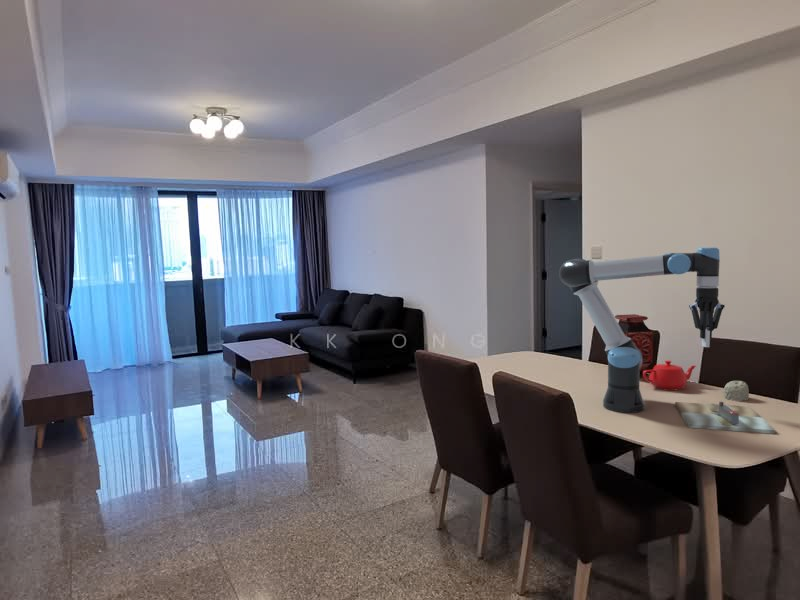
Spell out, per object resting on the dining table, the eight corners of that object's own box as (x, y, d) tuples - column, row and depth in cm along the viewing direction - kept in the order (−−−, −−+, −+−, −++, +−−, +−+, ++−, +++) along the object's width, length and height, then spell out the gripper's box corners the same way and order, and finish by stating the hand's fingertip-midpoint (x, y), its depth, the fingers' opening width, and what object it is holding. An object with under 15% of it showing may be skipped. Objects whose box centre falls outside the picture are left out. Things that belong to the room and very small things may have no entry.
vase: (611, 372, 268) (612, 314, 265) (637, 371, 269) (637, 313, 267) (626, 379, 254) (627, 318, 251) (653, 377, 256) (654, 316, 253)
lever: (726, 414, 193) (726, 403, 192) (739, 424, 182) (740, 413, 181) (718, 414, 193) (718, 403, 193) (730, 424, 182) (731, 412, 182)
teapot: (651, 392, 230) (652, 365, 229) (634, 384, 246) (634, 358, 244) (706, 390, 231) (707, 363, 230) (685, 381, 247) (686, 356, 246)
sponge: (744, 411, 214) (760, 391, 212) (723, 397, 215) (739, 378, 213) (734, 404, 223) (750, 385, 221) (714, 391, 224) (730, 372, 222)
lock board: (688, 427, 185) (689, 410, 185) (675, 404, 212) (675, 390, 211) (775, 433, 177) (775, 416, 176) (750, 409, 203) (750, 394, 203)
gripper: (718, 286, 208) (716, 344, 211) (685, 286, 208) (683, 345, 211) (730, 287, 201) (728, 348, 203) (695, 288, 201) (694, 348, 203)
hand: (705, 346), depth 207 cm, fingers closed
